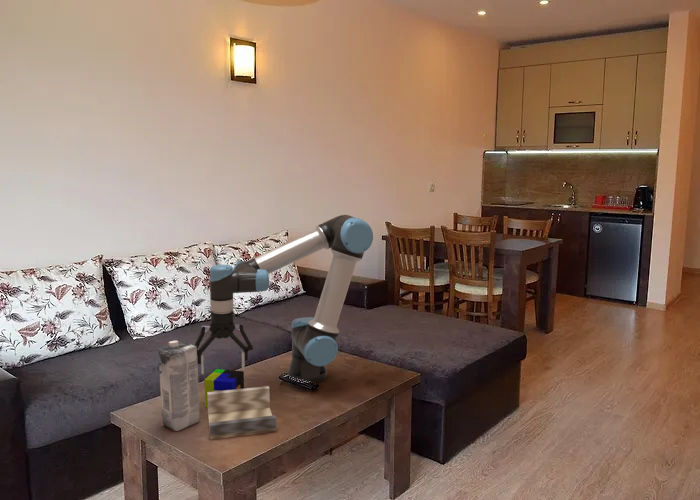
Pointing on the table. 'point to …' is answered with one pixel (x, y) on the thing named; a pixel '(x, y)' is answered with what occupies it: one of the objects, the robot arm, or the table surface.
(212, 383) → the puzzle toy
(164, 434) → the table surface
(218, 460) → the table surface
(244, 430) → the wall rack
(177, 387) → the juice carton
